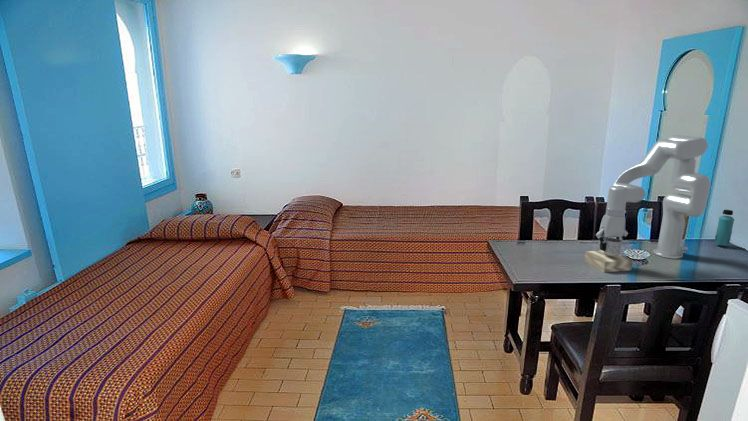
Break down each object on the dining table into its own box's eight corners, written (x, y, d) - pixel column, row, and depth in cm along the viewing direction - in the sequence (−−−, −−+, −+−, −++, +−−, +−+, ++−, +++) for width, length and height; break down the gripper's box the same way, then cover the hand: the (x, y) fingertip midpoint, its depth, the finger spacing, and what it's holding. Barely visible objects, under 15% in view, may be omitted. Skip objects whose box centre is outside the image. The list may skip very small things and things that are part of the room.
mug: (622, 254, 201) (624, 240, 199) (614, 257, 197) (616, 243, 195) (601, 248, 209) (603, 235, 207) (593, 250, 205) (595, 237, 204)
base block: (610, 259, 212) (611, 249, 211) (631, 270, 199) (632, 260, 198) (584, 261, 210) (585, 251, 209) (603, 272, 197) (605, 262, 196)
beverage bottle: (731, 248, 227) (740, 211, 222) (719, 248, 227) (727, 211, 222) (722, 244, 234) (730, 208, 228) (709, 244, 234) (717, 208, 229)
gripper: (626, 210, 203) (620, 246, 208) (592, 211, 200) (587, 248, 205) (638, 214, 196) (632, 251, 201) (603, 216, 193) (598, 253, 198)
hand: (609, 249), depth 203 cm, fingers closed on mug, 6 cm apart
